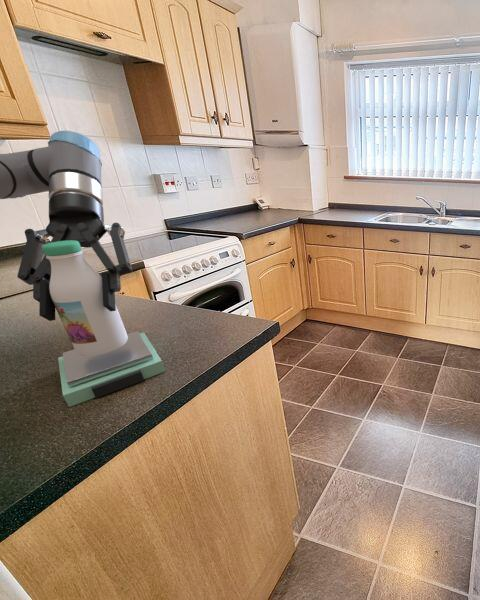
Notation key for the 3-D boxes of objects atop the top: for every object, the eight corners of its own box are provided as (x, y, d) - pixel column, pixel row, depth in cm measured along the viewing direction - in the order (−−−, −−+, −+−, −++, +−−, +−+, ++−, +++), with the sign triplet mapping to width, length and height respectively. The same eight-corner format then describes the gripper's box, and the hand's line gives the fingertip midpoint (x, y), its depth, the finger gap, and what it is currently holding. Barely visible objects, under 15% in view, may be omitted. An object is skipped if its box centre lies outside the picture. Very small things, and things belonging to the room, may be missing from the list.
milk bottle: (120, 332, 69) (82, 235, 61) (135, 343, 65) (96, 241, 56) (71, 348, 63) (22, 244, 55) (84, 362, 59) (32, 251, 51)
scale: (63, 368, 67) (57, 357, 66) (147, 341, 76) (143, 332, 75) (69, 409, 56) (63, 397, 55) (166, 373, 65) (162, 362, 64)
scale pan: (64, 357, 65) (62, 352, 65) (139, 334, 73) (137, 330, 72) (69, 387, 57) (67, 382, 56) (153, 358, 64) (151, 354, 64)
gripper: (148, 211, 72) (157, 309, 65) (18, 220, 64) (14, 332, 57) (134, 187, 65) (143, 293, 58) (-12, 193, 57) (-22, 317, 50)
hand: (79, 312), depth 57 cm, fingers closed on milk bottle, 8 cm apart
